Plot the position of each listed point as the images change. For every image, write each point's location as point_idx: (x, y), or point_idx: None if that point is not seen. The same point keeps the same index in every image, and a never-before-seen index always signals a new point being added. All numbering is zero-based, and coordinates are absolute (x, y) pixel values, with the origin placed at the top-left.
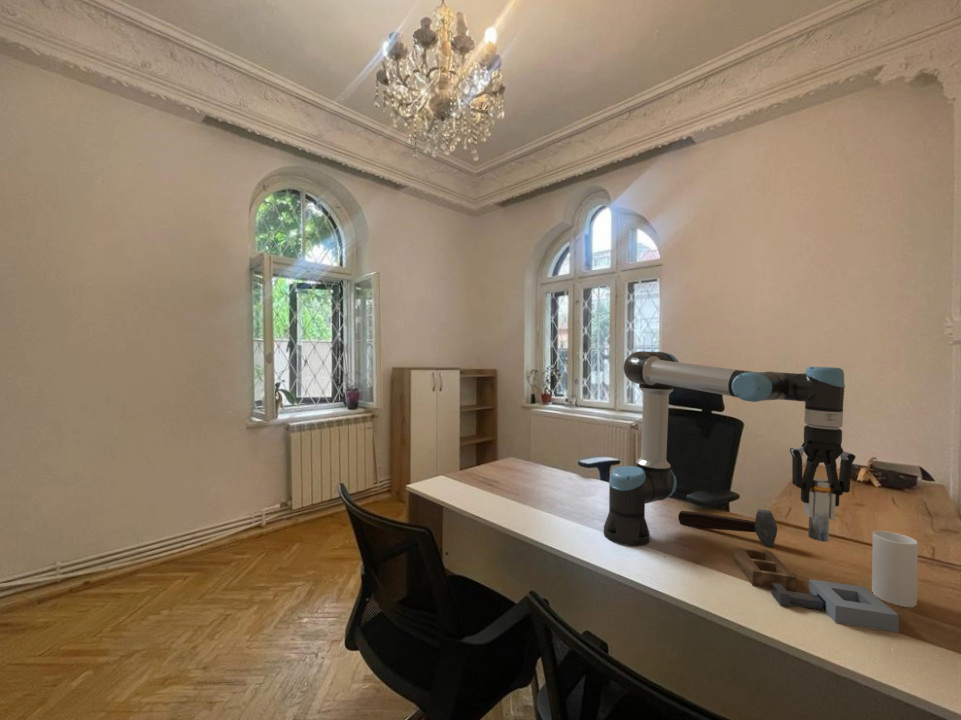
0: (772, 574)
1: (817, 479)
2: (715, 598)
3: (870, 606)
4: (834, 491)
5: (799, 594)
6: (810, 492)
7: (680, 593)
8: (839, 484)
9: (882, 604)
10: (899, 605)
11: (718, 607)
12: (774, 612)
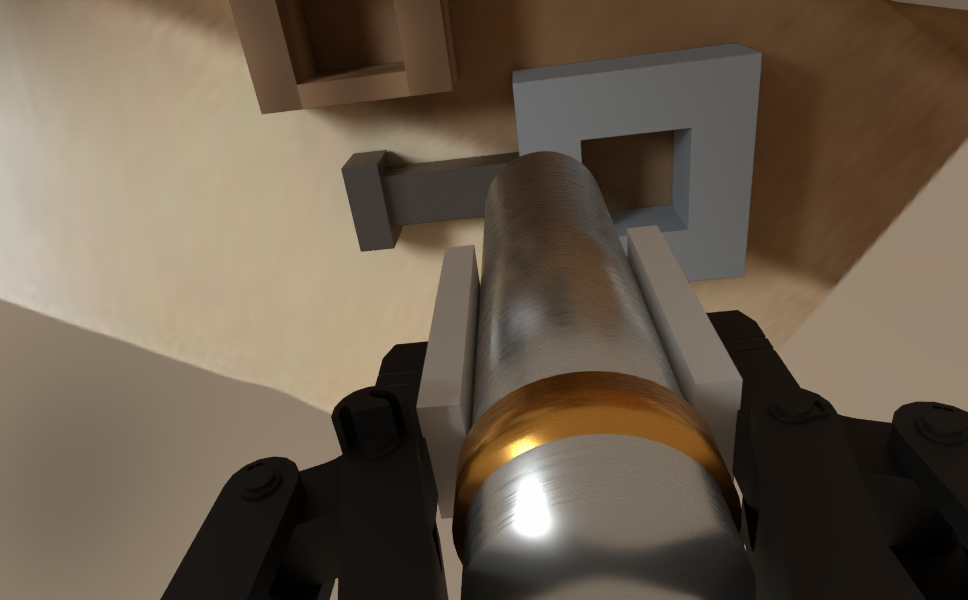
0: (349, 102)
1: (576, 570)
2: (158, 270)
3: (671, 248)
4: (743, 505)
5: (444, 188)
6: (443, 512)
7: (45, 285)
8: (929, 494)
9: (735, 210)
10: (896, 1)
11: (174, 323)
12: (345, 281)
